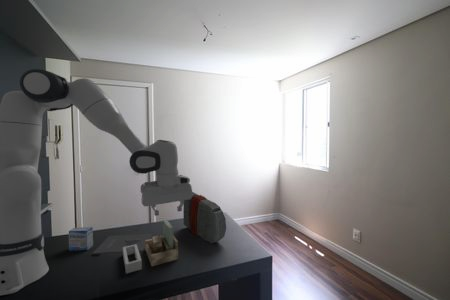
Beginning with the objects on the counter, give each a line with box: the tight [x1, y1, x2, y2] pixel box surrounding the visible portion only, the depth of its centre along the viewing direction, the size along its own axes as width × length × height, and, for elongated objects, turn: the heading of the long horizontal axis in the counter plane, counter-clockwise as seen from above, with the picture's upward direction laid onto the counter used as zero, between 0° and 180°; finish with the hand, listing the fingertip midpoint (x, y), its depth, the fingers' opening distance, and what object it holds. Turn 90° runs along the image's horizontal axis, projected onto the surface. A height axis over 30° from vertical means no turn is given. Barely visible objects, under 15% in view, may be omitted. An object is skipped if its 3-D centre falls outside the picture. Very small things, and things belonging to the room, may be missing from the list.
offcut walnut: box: [151, 242, 164, 254], centre depth 87 cm, size 3×7×2 cm, turn 33°
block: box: [162, 219, 174, 250], centre depth 89 cm, size 2×10×12 cm, turn 29°
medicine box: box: [68, 226, 94, 252], centre depth 95 cm, size 8×4×9 cm, turn 93°
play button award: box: [92, 233, 153, 256], centre depth 98 cm, size 16×2×20 cm
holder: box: [122, 243, 143, 274], centre depth 83 cm, size 5×14×4 cm, turn 29°
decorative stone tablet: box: [182, 191, 227, 244], centre depth 105 cm, size 19×6×30 cm
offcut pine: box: [151, 235, 162, 248], centre depth 87 cm, size 3×6×2 cm, turn 24°
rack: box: [144, 234, 179, 267], centre depth 88 cm, size 10×14×8 cm
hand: (168, 212), depth 89 cm, fingers open, 8 cm apart
